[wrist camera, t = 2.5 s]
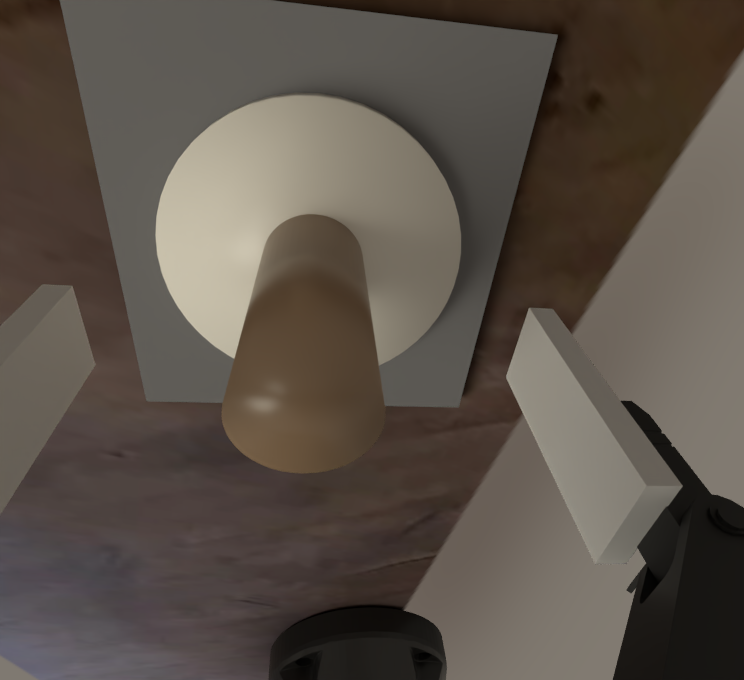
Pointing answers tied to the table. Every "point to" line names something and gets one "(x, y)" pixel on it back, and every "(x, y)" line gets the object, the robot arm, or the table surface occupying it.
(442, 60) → the mat
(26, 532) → the table surface
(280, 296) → the lid
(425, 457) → the table surface
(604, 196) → the table surface
